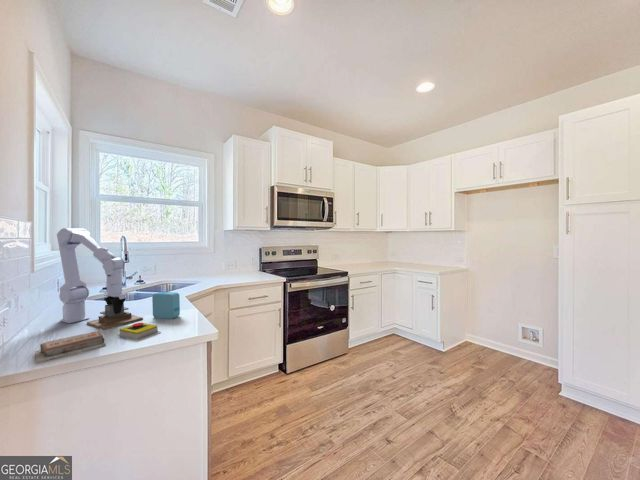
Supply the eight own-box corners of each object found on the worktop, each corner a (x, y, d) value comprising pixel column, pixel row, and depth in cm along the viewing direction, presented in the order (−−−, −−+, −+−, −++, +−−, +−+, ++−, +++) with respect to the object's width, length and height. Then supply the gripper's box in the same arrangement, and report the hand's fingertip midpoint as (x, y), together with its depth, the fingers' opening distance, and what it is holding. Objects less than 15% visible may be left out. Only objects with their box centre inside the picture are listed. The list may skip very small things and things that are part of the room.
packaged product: (99, 328, 109) (105, 334, 103) (99, 340, 109) (106, 347, 103) (34, 341, 95) (36, 349, 89) (34, 355, 96) (37, 364, 89)
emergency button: (138, 319, 122) (162, 323, 116) (138, 328, 122) (162, 333, 116) (115, 325, 113) (140, 330, 107) (116, 336, 113) (140, 341, 108)
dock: (86, 324, 127) (86, 316, 127) (125, 314, 141) (125, 308, 141) (103, 330, 119) (103, 322, 119) (142, 319, 133) (142, 312, 133)
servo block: (100, 319, 126) (99, 304, 126) (124, 313, 135) (123, 299, 135) (104, 320, 125) (103, 305, 124) (128, 314, 133) (128, 300, 133)
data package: (180, 316, 138) (179, 292, 138) (173, 319, 134) (172, 294, 133) (159, 315, 141) (159, 291, 140) (152, 317, 136) (151, 293, 136)
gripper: (96, 283, 130) (97, 312, 130) (112, 286, 123) (113, 317, 123) (114, 281, 136) (114, 308, 136) (129, 284, 129) (130, 313, 129)
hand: (115, 312), depth 130 cm, fingers closed on servo block, 4 cm apart
